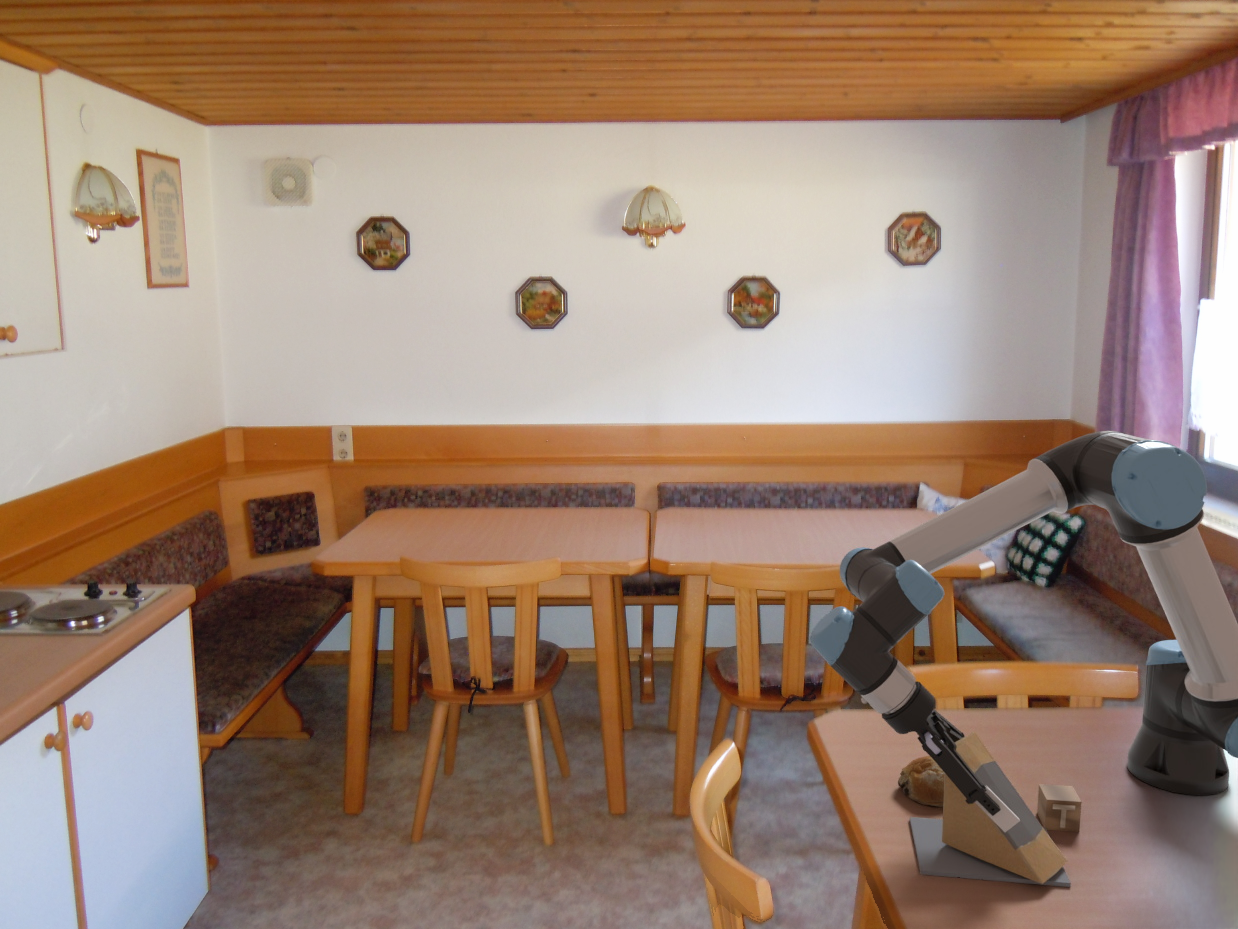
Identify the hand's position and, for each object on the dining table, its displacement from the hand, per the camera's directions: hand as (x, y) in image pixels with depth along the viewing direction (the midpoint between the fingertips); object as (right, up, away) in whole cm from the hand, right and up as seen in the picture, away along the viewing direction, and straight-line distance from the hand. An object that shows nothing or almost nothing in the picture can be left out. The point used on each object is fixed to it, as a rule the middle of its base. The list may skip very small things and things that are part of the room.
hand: (1003, 803), depth 150 cm
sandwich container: (0, -7, -1) cm, 7 cm away
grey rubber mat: (-2, -8, +2) cm, 8 cm away
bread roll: (-5, -5, +19) cm, 20 cm away
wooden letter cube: (+12, -6, +10) cm, 17 cm away
